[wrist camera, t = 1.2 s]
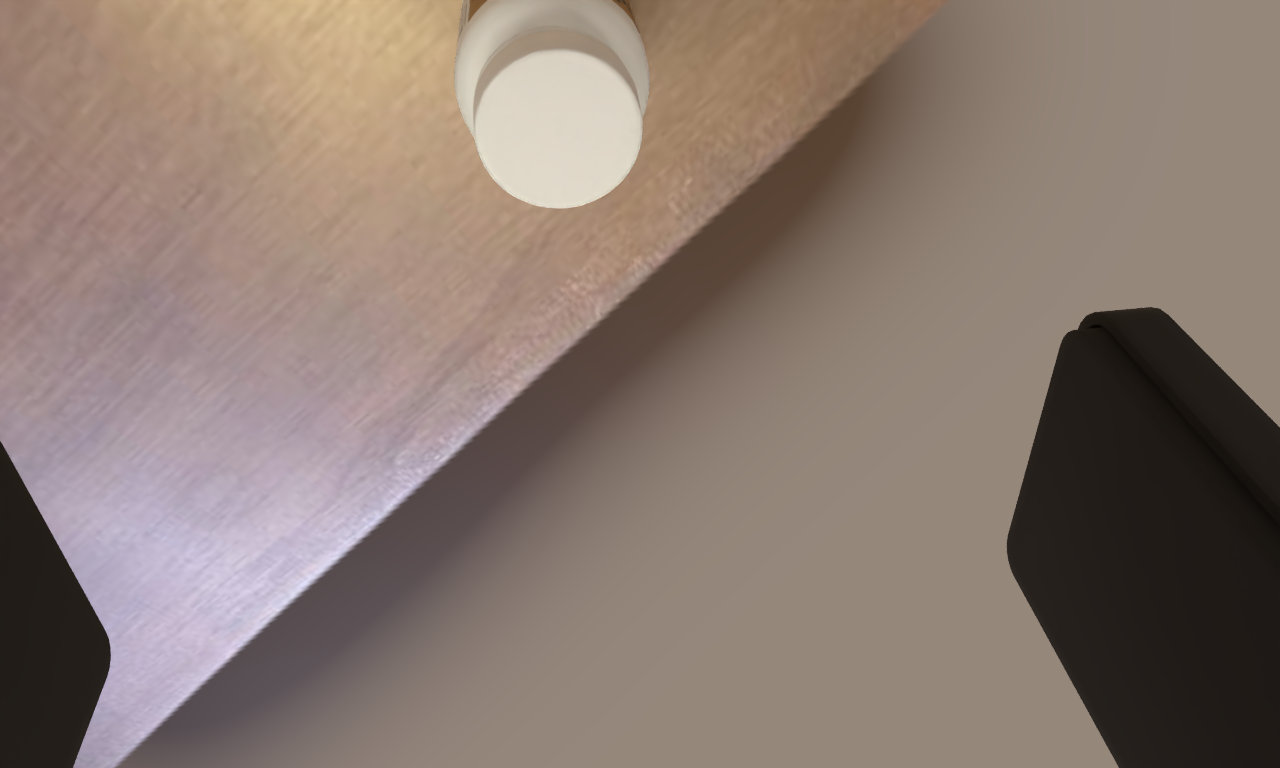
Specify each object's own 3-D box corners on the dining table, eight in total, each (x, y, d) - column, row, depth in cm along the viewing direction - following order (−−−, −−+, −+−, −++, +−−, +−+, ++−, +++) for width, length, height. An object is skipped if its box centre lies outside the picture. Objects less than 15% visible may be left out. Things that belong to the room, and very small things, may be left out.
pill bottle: (632, -70, 25) (675, 25, 19) (624, 99, 28) (659, 230, 22) (456, -76, 25) (441, 19, 18) (464, 97, 27) (454, 230, 21)
